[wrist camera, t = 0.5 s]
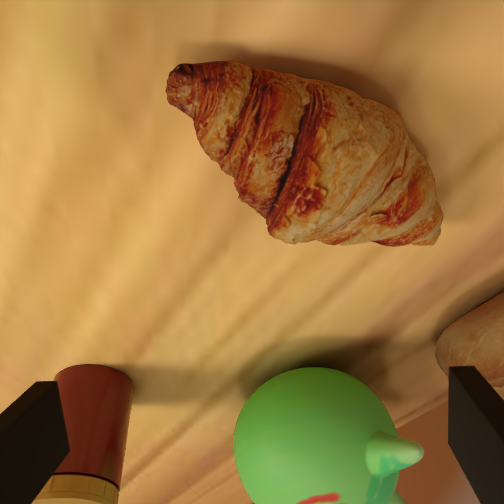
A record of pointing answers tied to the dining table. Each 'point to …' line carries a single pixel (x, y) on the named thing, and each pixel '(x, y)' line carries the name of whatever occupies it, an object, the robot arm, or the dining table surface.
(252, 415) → the toy bird
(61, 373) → the jam jar
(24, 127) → the dining table surface
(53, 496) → the jam lid
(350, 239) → the croissant
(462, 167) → the dining table surface
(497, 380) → the bread roll
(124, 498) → the dining table surface
